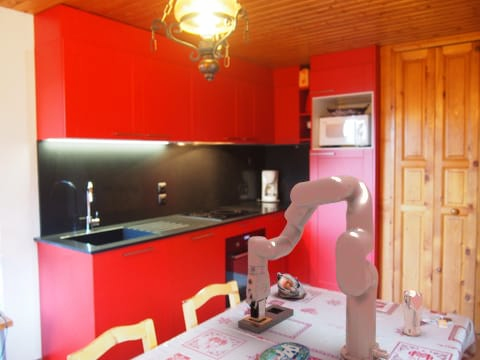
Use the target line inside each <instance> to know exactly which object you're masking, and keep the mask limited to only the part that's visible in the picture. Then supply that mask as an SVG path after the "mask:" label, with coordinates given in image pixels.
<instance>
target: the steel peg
mask: <svg viewBox="0 0 480 360" xmlns="http://www.w3.org/2000/svg"><path fill="white" fill-rule="evenodd" d="M254 302H255V301H253V303H254ZM257 308H258V318H257V319H256V318H253V317H251V321H254V322H257V323H261V322H263V321H265V299H262V300H260V301H257Z"/></svg>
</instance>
